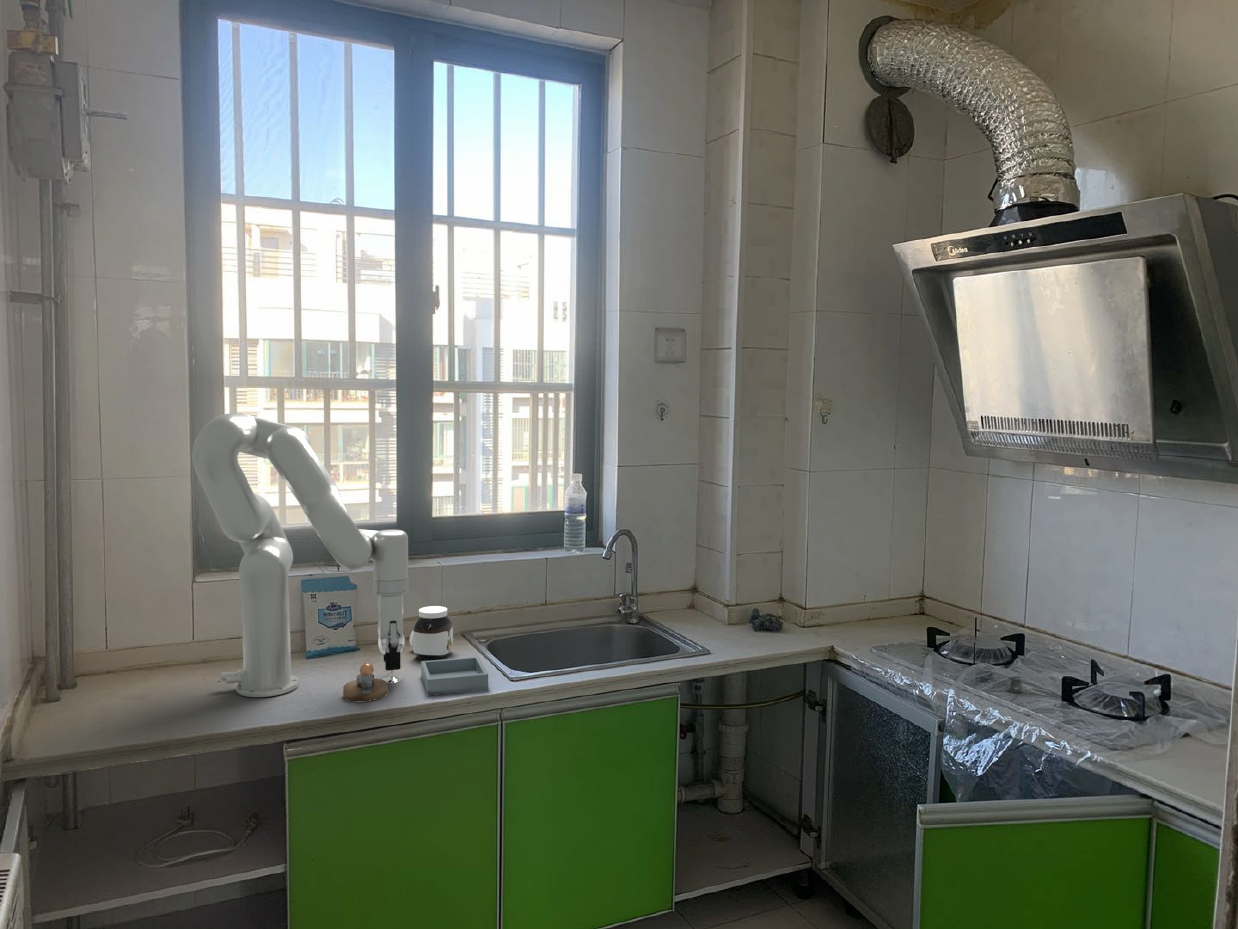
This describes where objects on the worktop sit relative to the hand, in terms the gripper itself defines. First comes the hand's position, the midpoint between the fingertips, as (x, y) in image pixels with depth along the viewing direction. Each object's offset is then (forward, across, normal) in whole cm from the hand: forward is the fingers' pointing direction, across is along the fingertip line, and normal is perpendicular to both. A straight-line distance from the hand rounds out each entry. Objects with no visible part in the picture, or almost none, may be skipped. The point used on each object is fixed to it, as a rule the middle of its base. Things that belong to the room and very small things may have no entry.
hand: (391, 664), depth 195 cm
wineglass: (+4, 0, 0) cm, 4 cm away
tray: (+3, +6, +13) cm, 15 cm away
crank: (+1, +11, -6) cm, 13 cm away
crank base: (+3, +8, -6) cm, 11 cm away
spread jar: (+4, -17, +10) cm, 20 cm away
